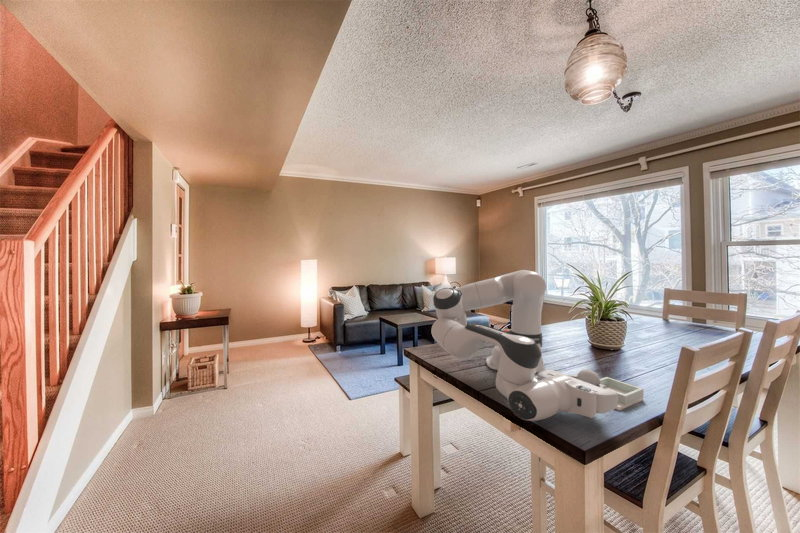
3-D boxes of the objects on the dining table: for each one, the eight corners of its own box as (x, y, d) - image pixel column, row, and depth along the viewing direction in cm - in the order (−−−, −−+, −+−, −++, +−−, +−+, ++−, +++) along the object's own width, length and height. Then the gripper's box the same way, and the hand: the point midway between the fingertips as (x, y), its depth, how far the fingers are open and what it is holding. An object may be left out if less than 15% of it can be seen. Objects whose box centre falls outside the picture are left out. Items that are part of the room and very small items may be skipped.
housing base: (619, 410, 86) (619, 398, 86) (582, 395, 96) (582, 384, 96) (643, 400, 93) (643, 388, 93) (606, 386, 102) (606, 376, 102)
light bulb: (571, 399, 90) (572, 366, 90) (589, 398, 91) (590, 366, 91) (585, 409, 85) (586, 374, 84) (604, 408, 85) (605, 373, 85)
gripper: (527, 388, 91) (556, 380, 97) (599, 421, 73) (628, 408, 79) (528, 368, 91) (557, 361, 97) (599, 395, 73) (629, 384, 79)
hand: (589, 382), depth 88 cm, fingers closed on light bulb, 6 cm apart
